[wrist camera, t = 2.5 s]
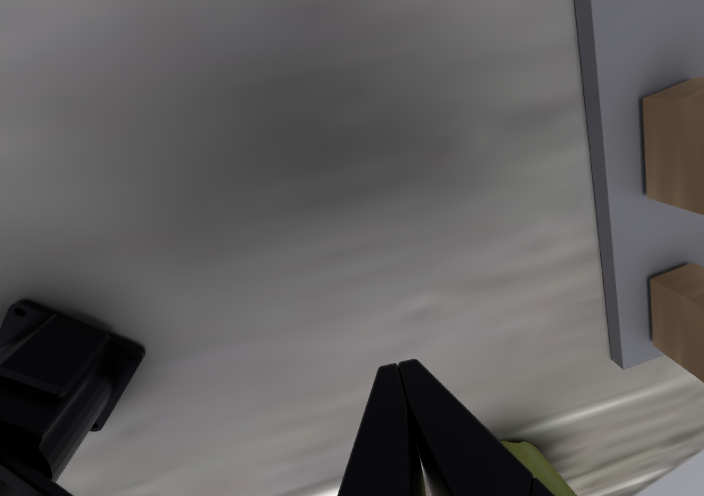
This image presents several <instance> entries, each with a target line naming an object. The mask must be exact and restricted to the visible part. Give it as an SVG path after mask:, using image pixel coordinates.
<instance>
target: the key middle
mask: <svg viewBox="0 0 704 496" xmlns="http://www.w3.org/2000/svg"><path fill="white" fill-rule="evenodd" d="M643 118H644V142H645V165H646V189H647V198H649V199H652V200H655V201H659V202H662V203H665V204H668V205H672V206H675V207H678V208H681V209H685V210H688V211H691V212H694V213H698V214H701V215H704V77H695V78H693V79H690V80H688V81H685V82H683V83H680V84H677V85H675V86H672V87H670V88H667V89H665V90H662V91H660V92H657V93H655V94H652V95H650V96H647V97H645V98H643Z"/></svg>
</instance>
